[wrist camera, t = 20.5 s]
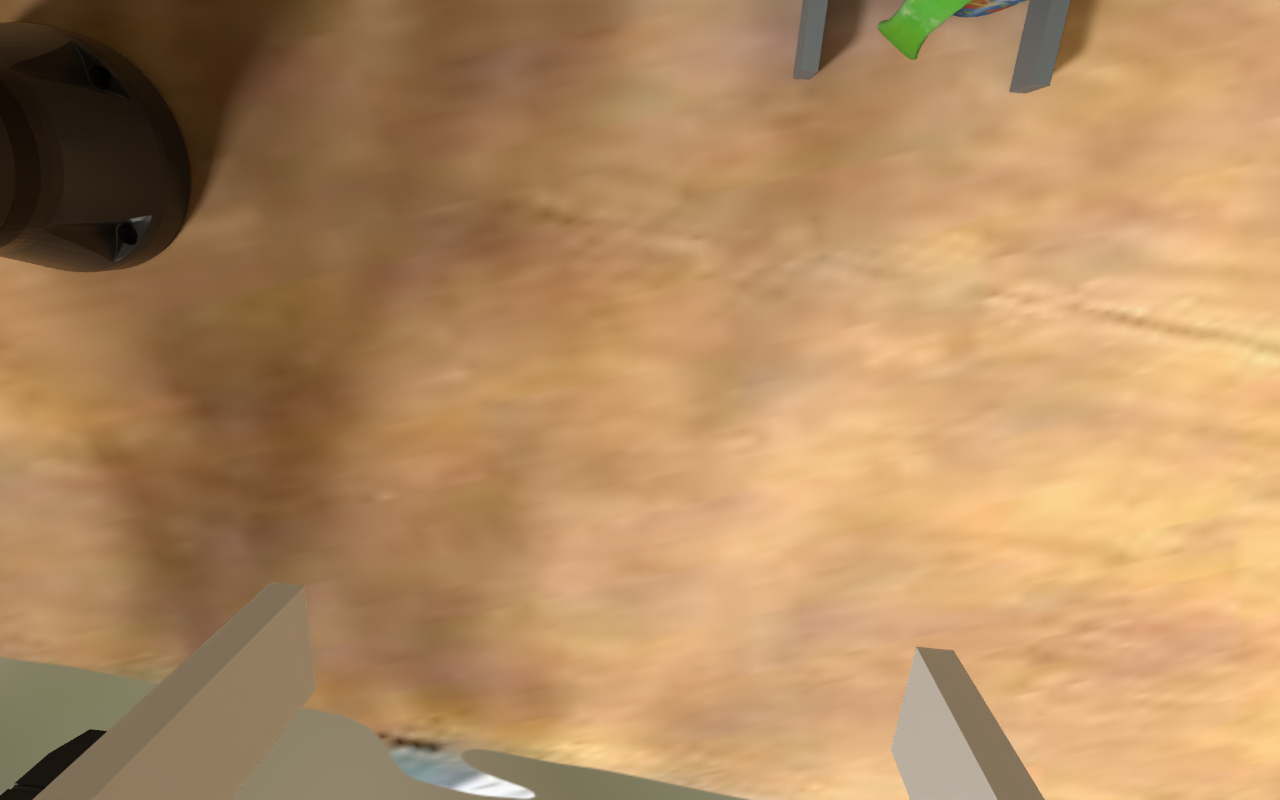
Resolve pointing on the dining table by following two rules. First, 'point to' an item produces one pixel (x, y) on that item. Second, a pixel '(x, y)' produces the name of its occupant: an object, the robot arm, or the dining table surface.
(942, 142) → the dining table surface
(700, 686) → the dining table surface
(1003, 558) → the dining table surface
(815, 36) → the headboard cradle
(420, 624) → the dining table surface
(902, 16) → the snack cup
